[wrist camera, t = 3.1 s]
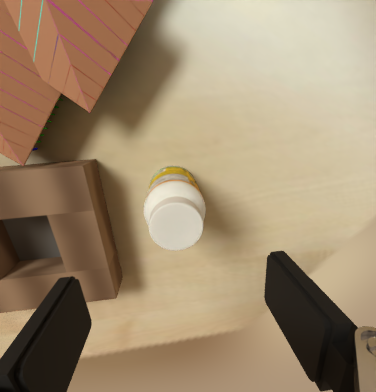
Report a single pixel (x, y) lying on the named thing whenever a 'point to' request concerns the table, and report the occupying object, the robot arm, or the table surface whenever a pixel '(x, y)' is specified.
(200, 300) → the table surface
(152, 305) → the table surface
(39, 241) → the holder
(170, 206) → the supplement bottle
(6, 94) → the house
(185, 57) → the table surface
